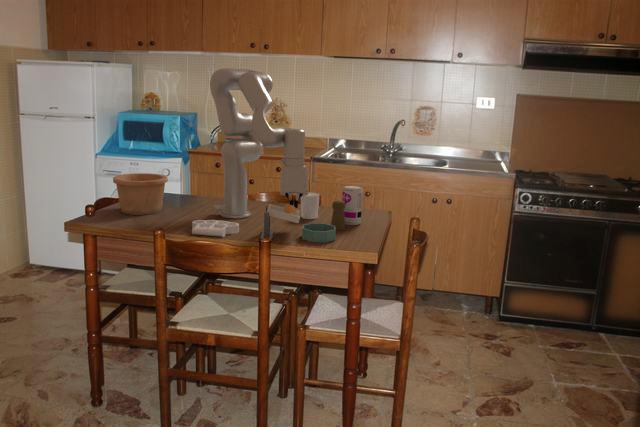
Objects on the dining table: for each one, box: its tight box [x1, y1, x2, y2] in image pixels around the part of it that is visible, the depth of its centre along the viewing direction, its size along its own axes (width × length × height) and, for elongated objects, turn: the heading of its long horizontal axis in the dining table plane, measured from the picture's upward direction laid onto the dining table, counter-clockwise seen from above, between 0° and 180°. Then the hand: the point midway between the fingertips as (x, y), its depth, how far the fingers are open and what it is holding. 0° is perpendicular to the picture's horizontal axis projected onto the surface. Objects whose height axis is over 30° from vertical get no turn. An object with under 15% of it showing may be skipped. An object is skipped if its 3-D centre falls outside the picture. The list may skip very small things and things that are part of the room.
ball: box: [284, 204, 297, 215], centre depth 214 cm, size 4×4×4 cm
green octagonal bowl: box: [301, 222, 337, 243], centre depth 216 cm, size 12×12×4 cm
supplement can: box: [341, 185, 364, 226], centre depth 239 cm, size 8×8×15 cm
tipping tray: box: [267, 203, 301, 224], centre depth 219 cm, size 12×18×2 cm, turn 2°
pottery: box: [112, 172, 169, 216], centre depth 247 cm, size 22×22×14 cm
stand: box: [259, 206, 274, 242], centre depth 215 cm, size 4×14×10 cm, turn 2°
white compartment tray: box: [191, 219, 240, 238], centre depth 219 cm, size 3×18×15 cm
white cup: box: [300, 192, 320, 220], centre depth 246 cm, size 8×8×10 cm
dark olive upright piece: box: [330, 200, 346, 231], centre depth 230 cm, size 6×6×11 cm
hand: (293, 209), depth 224 cm, fingers closed
